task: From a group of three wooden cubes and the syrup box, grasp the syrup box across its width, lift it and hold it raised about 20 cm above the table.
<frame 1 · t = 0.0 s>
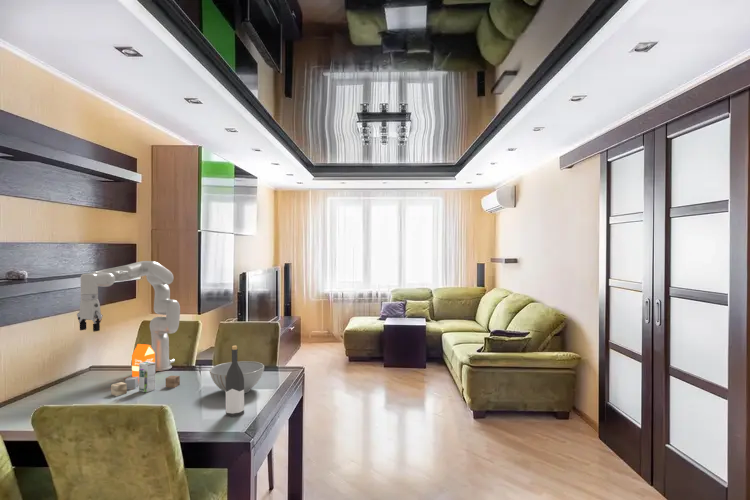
hand: (89, 330, 230), 31 cm above the table, fingers open, 9 cm apart
syrup box: (147, 390, 231), on the table
slate painted cube: (131, 387, 236), on the table
walnut cube: (172, 386, 238), on the table
orange juice: (143, 380, 249), on the table
decorative bowl: (237, 391, 229), on the table
wine bottle: (235, 414, 198), on the table
maple cube: (119, 393, 226), on the table
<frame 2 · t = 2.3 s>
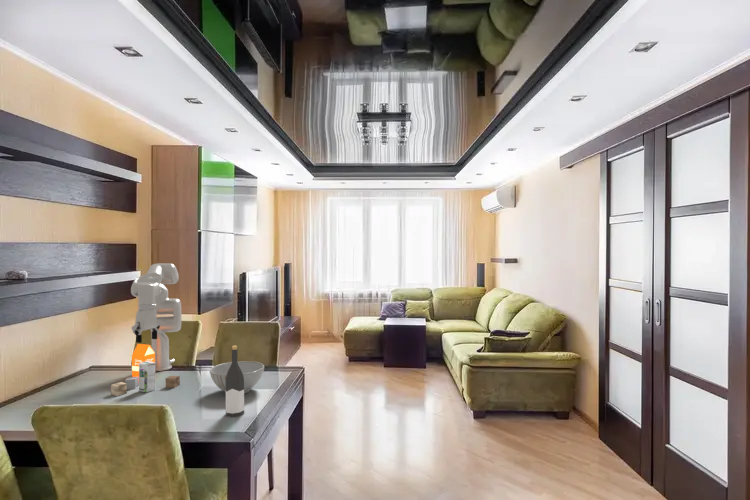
hand: (146, 340, 231), 26 cm above the table, fingers open, 9 cm apart
nothing on the table moved.
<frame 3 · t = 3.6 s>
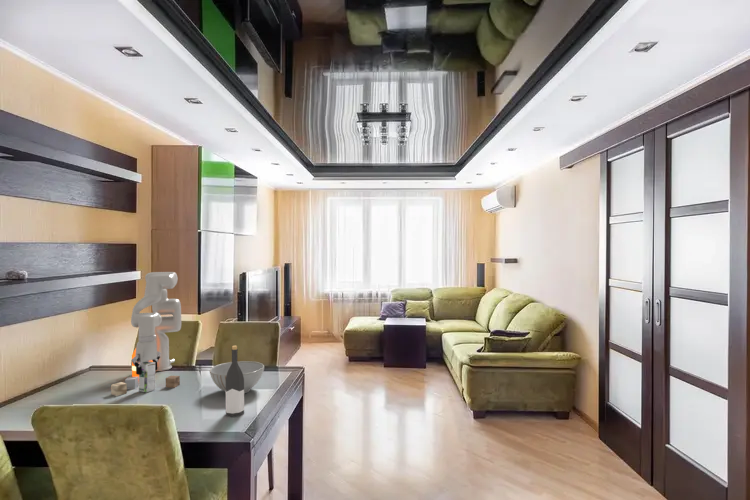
hand: (146, 372, 231), 10 cm above the table, fingers open, 9 cm apart
nothing on the table moved.
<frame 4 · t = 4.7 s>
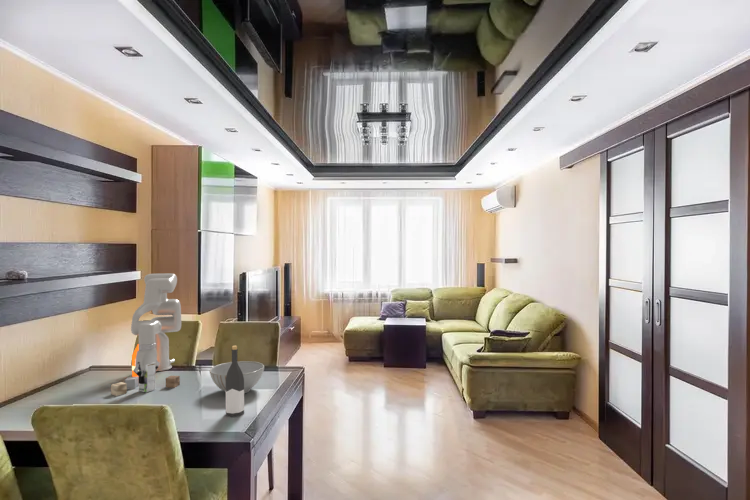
hand: (147, 381, 231), 5 cm above the table, fingers closed on syrup box, 6 cm apart
syrup box: (147, 390, 231), on the table, touching gripper
everything else where it was.
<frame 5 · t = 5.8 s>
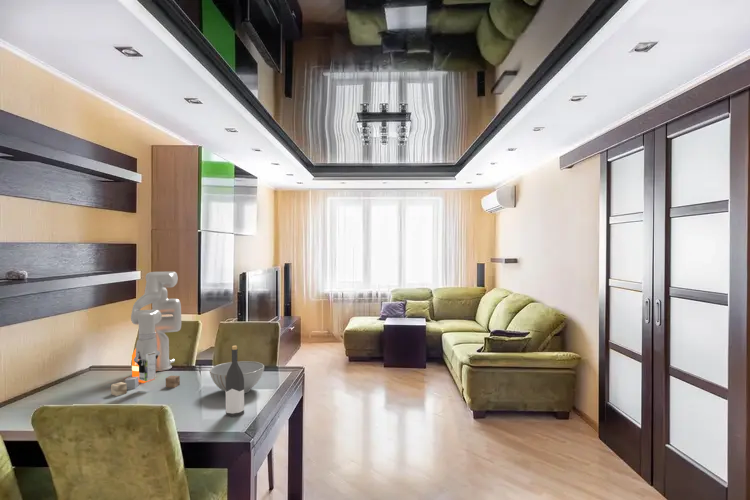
hand: (147, 370, 232), 10 cm above the table, fingers closed on syrup box, 6 cm apart
syrup box: (147, 379, 232), point 5 cm above the table, touching gripper
everything else where it was.
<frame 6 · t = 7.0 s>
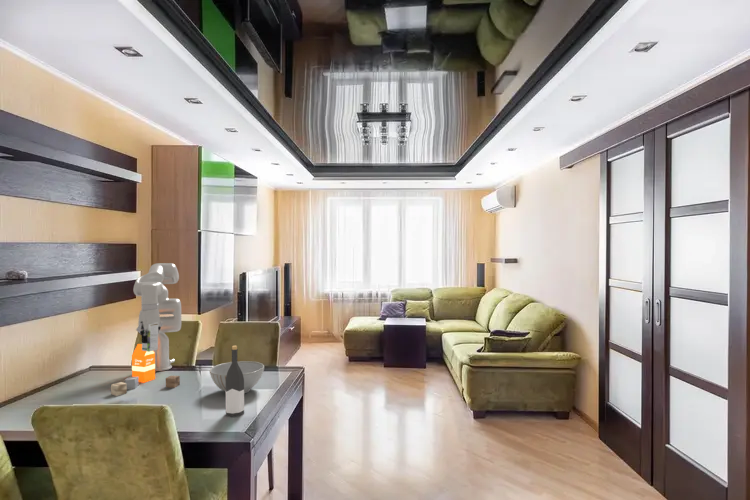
hand: (149, 341, 233), 25 cm above the table, fingers closed on syrup box, 6 cm apart
syrup box: (150, 350, 233), point 20 cm above the table, touching gripper
everything else where it was.
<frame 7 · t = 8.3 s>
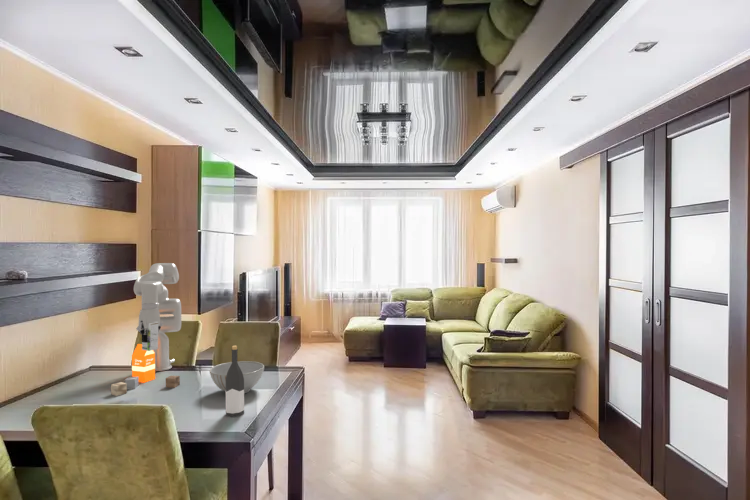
hand: (150, 340, 233), 25 cm above the table, fingers closed on syrup box, 6 cm apart
syrup box: (150, 349, 233), point 21 cm above the table, touching gripper
everything else where it was.
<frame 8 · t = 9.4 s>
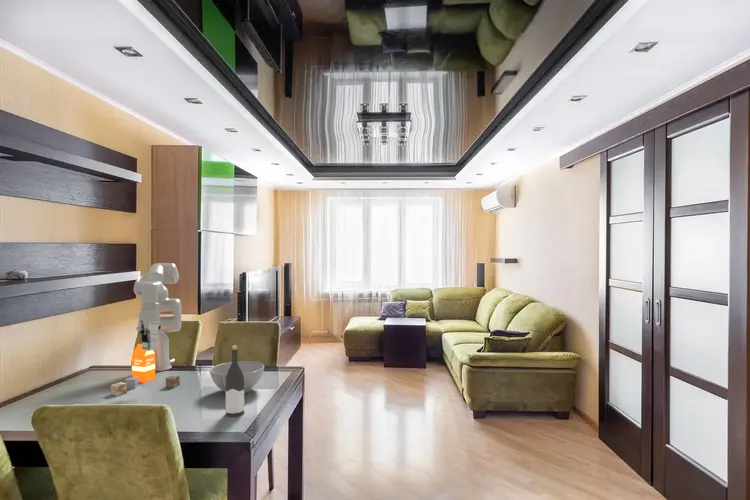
hand: (150, 340, 233), 25 cm above the table, fingers closed on syrup box, 6 cm apart
syrup box: (150, 349, 233), point 21 cm above the table, touching gripper
everything else where it was.
at the end: the gripper is holding syrup box; syrup box point 20.5 cm above the table; maple cube moved 0.1 cm from its start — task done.
